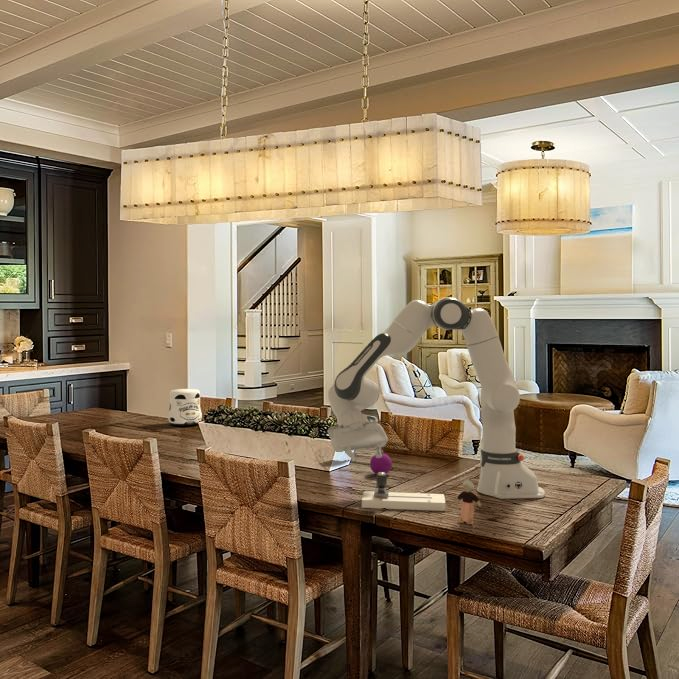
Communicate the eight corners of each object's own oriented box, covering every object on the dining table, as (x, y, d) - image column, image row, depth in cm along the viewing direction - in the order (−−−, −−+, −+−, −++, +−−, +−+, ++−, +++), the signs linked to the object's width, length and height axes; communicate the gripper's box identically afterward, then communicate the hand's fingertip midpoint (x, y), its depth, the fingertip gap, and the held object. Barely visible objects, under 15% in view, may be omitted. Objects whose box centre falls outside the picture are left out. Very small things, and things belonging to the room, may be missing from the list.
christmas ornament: (374, 471, 265) (375, 445, 264) (394, 473, 261) (395, 447, 261) (366, 476, 257) (366, 449, 257) (387, 478, 254) (387, 451, 253)
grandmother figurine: (453, 523, 202) (454, 480, 202) (456, 519, 206) (456, 477, 205) (479, 526, 200) (480, 483, 199) (482, 522, 203) (482, 479, 203)
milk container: (189, 428, 352) (189, 393, 351) (161, 426, 358) (161, 391, 357) (208, 423, 368) (208, 389, 367) (180, 421, 374) (180, 387, 373)
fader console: (443, 501, 224) (444, 493, 224) (445, 510, 214) (445, 502, 214) (363, 498, 227) (364, 491, 227) (361, 507, 217) (361, 499, 217)
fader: (388, 493, 223) (388, 471, 223) (388, 497, 219) (388, 474, 219) (374, 492, 224) (375, 471, 223) (374, 496, 219) (374, 474, 219)
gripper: (329, 421, 229) (344, 456, 221) (380, 416, 239) (396, 450, 231) (322, 432, 233) (336, 467, 225) (373, 427, 243) (389, 460, 235)
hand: (367, 458), depth 228 cm, fingers open, 8 cm apart
